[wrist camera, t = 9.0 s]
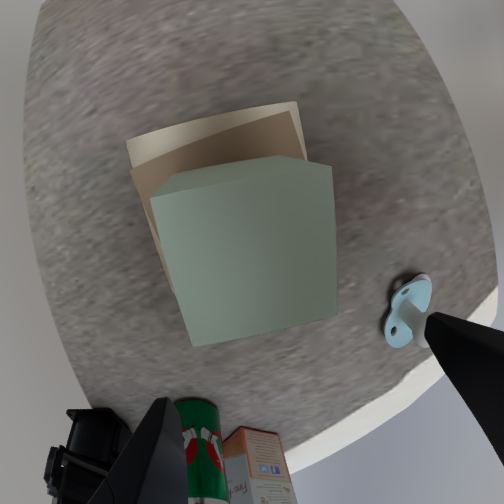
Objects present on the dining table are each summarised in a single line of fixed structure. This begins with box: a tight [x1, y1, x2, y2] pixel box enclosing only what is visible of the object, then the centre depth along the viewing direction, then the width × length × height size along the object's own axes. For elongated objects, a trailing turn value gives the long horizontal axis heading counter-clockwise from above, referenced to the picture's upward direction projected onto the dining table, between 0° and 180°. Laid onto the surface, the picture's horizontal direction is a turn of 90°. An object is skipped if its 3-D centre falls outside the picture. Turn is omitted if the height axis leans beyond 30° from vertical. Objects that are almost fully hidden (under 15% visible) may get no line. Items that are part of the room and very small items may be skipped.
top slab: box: [129, 111, 305, 243], centre depth 15 cm, size 8×8×3 cm
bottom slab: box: [126, 101, 308, 294], centre depth 18 cm, size 10×10×3 cm
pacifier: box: [384, 274, 432, 348], centre depth 22 cm, size 7×6×6 cm
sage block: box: [150, 155, 338, 347], centre depth 11 cm, size 5×5×6 cm
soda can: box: [174, 399, 231, 504], centre depth 20 cm, size 5×5×12 cm
